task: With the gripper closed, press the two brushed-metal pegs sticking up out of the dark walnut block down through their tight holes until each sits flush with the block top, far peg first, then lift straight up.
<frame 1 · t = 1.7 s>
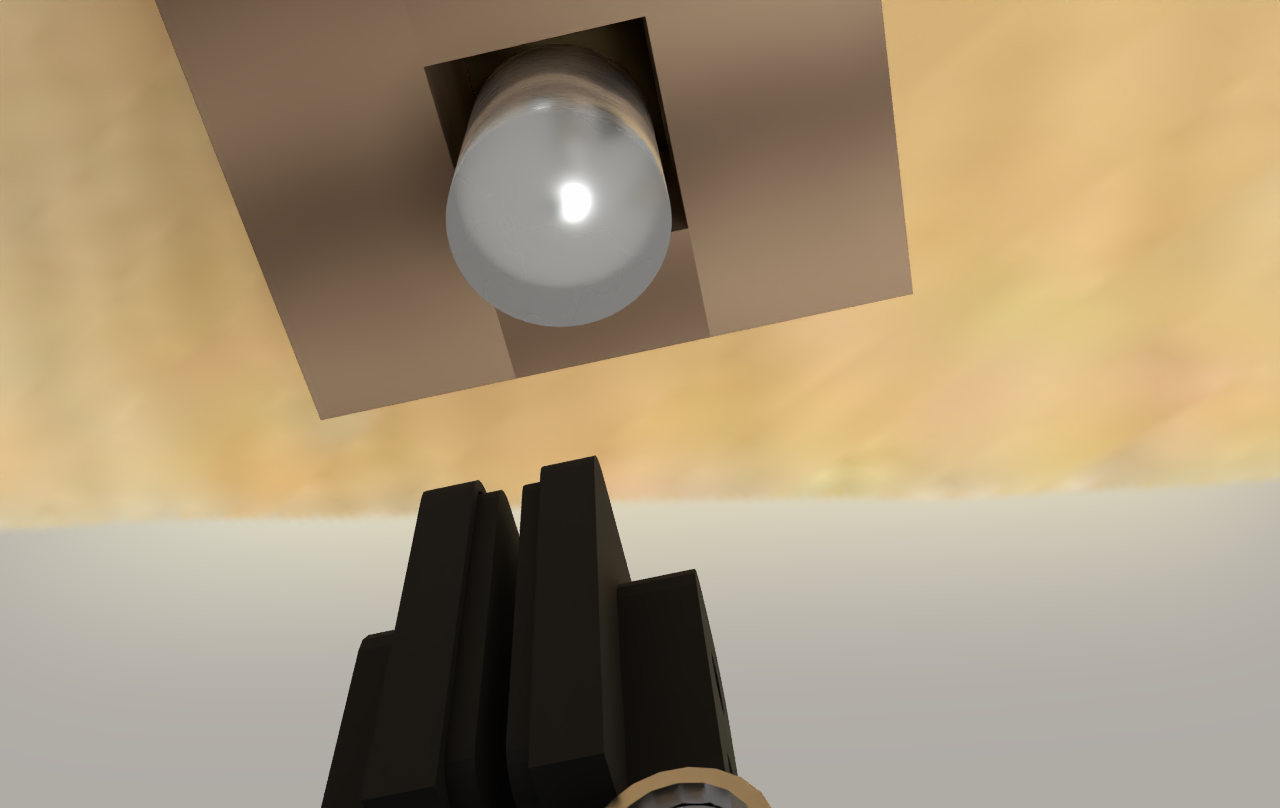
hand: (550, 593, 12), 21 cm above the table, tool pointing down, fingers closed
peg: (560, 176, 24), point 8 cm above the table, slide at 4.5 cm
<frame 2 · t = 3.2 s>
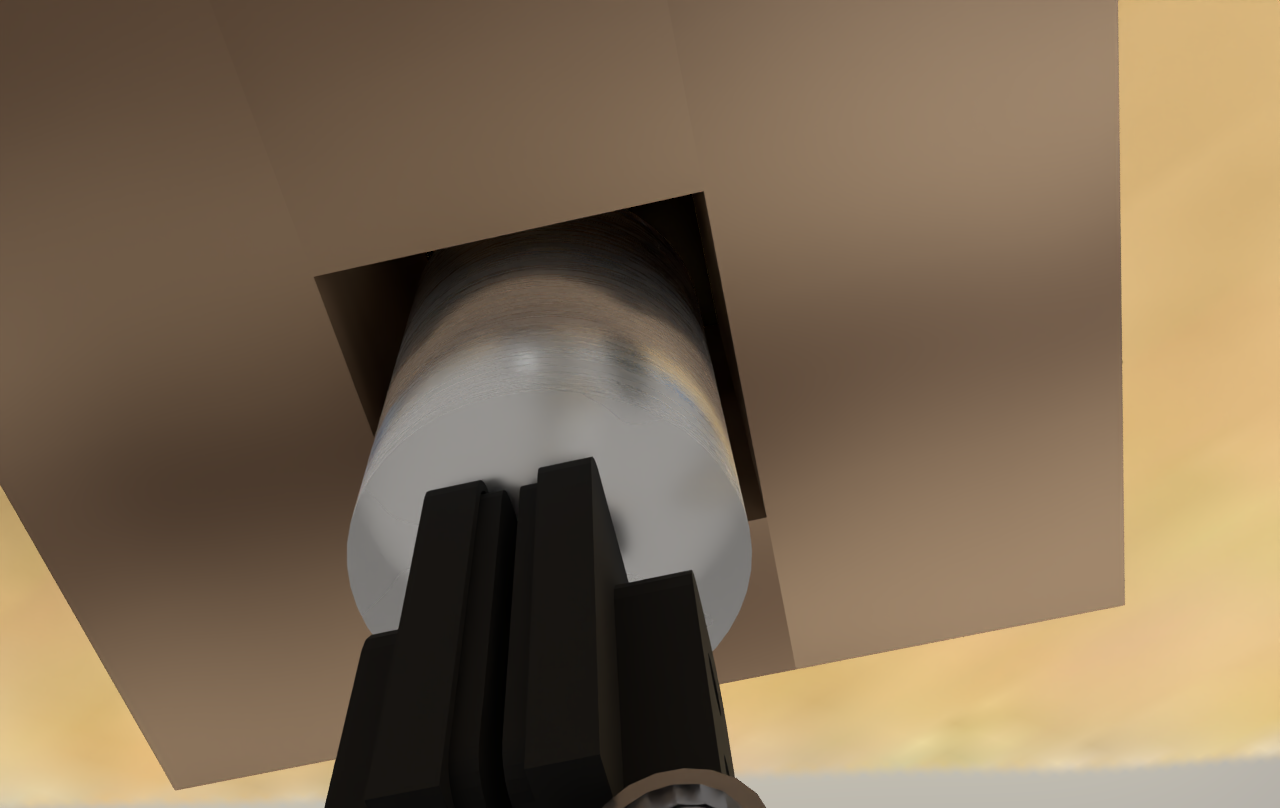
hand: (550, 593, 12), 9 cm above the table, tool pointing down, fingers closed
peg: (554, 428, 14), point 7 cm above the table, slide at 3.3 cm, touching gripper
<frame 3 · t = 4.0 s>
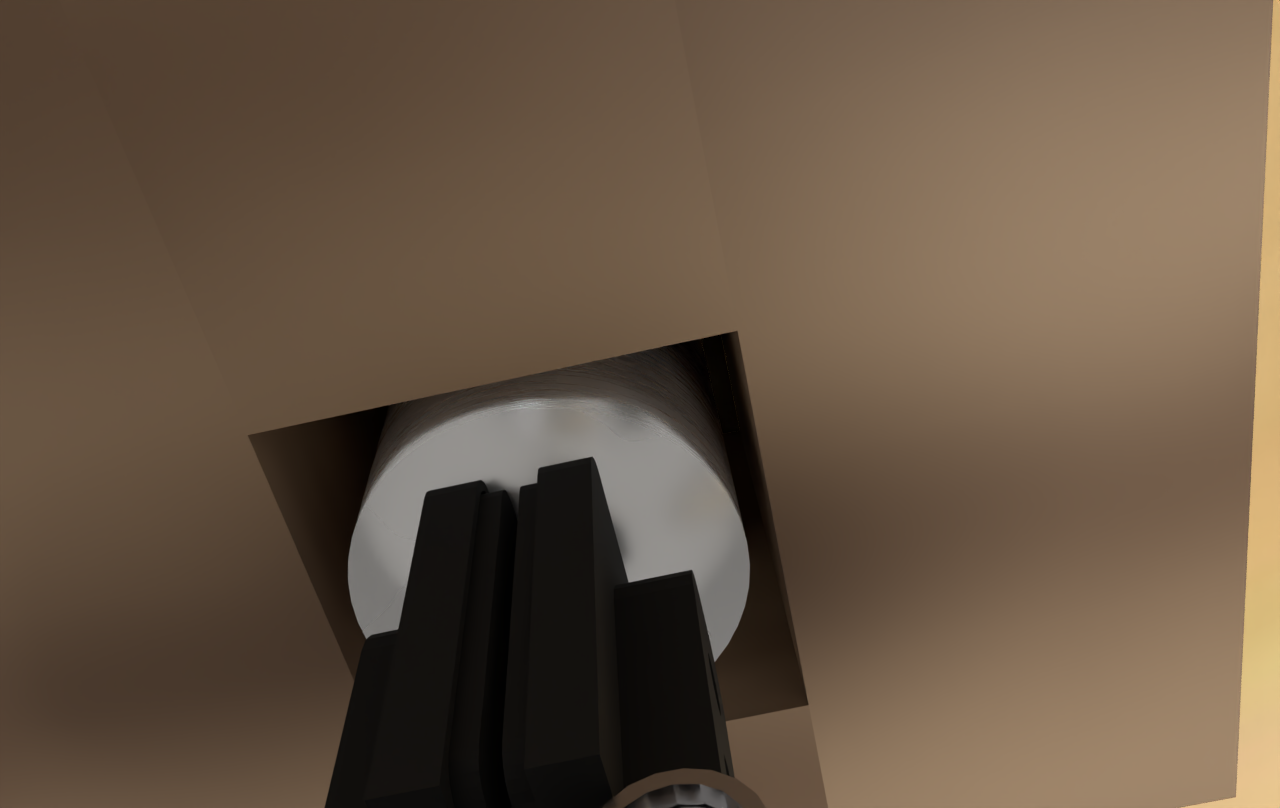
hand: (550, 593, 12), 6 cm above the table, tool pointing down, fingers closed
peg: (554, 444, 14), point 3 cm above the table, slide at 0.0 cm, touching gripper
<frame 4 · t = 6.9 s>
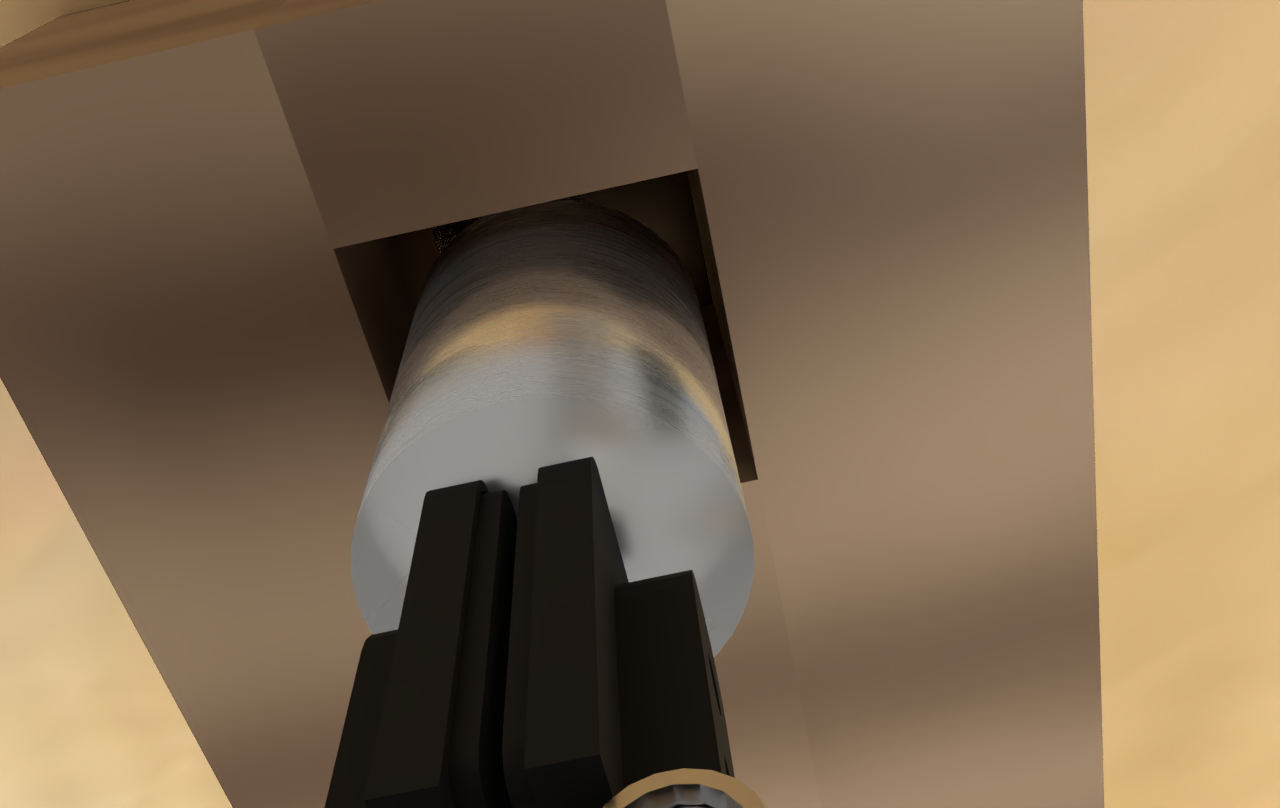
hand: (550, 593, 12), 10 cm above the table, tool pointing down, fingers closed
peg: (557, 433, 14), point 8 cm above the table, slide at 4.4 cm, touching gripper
walnut block: (633, 493, 24), on the table
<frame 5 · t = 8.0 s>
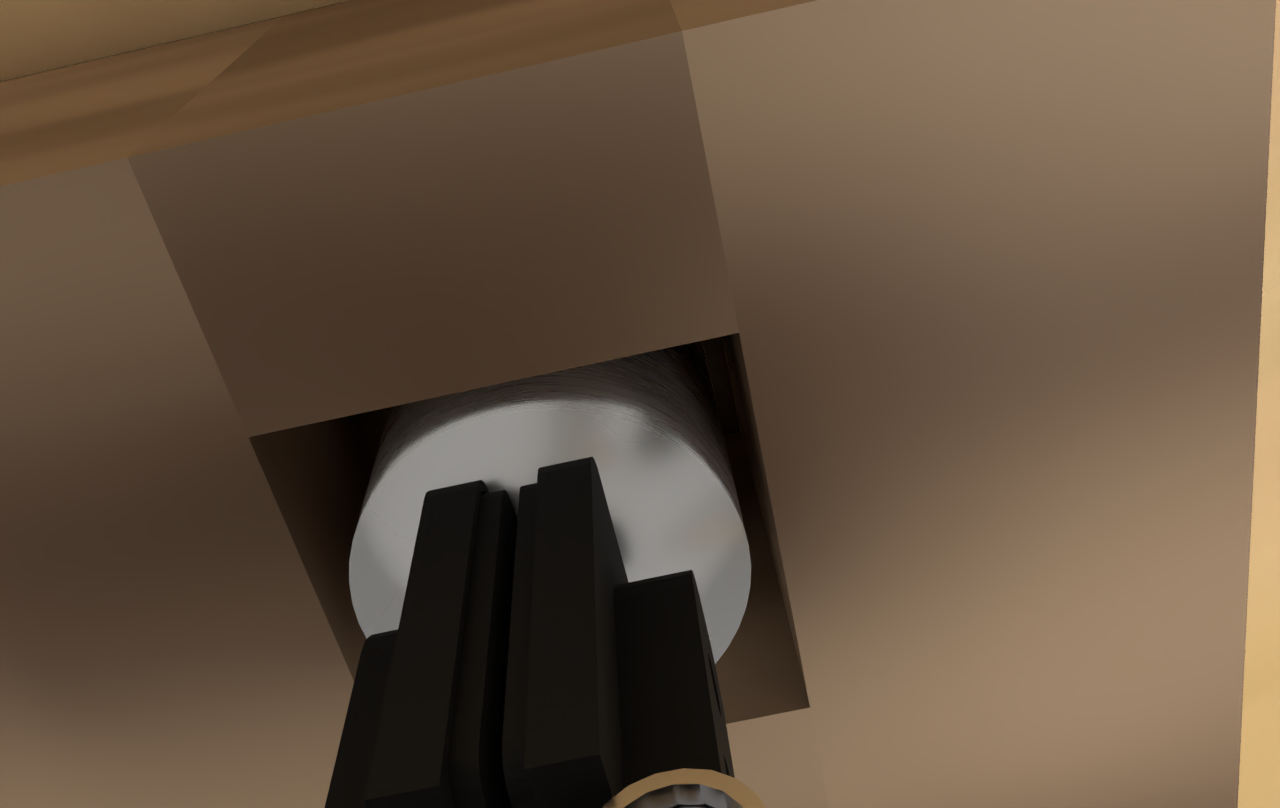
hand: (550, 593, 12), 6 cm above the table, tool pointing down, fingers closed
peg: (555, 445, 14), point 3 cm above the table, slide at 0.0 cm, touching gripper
walnut block: (643, 644, 20), on the table
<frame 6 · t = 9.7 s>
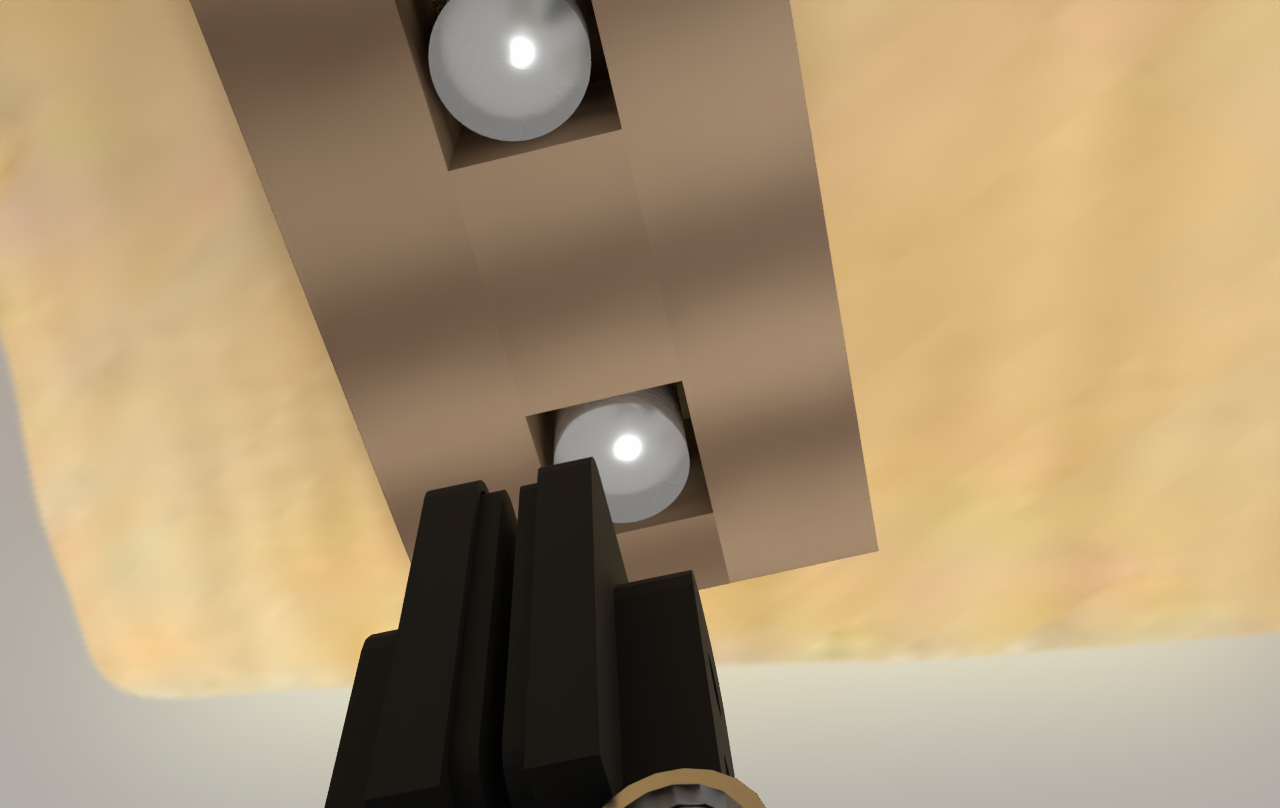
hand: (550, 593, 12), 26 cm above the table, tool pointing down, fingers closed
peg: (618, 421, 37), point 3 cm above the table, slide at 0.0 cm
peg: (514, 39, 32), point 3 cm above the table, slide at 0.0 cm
walnut block: (570, 209, 37), on the table
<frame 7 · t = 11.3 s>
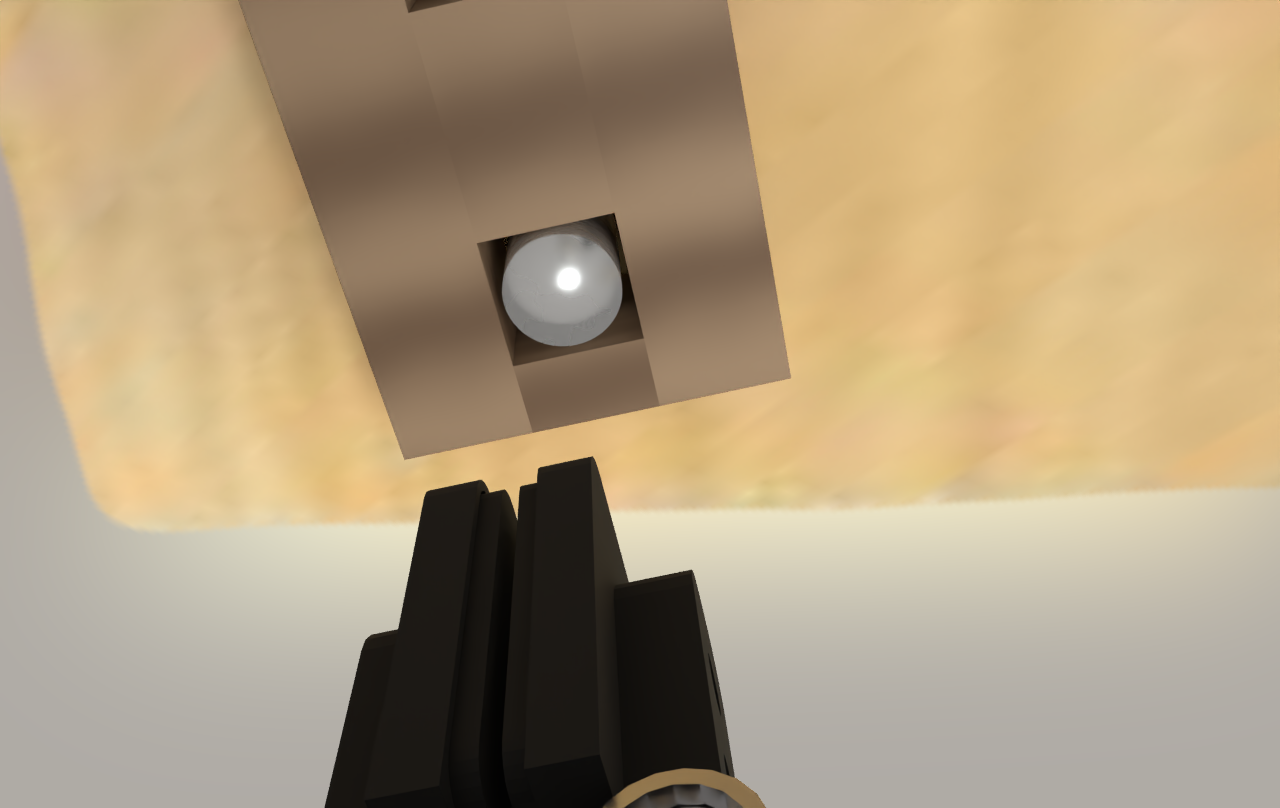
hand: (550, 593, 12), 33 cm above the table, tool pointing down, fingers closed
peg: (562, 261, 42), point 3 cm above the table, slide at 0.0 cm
walnut block: (522, 72, 42), on the table
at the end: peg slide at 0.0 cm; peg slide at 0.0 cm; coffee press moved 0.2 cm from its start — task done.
